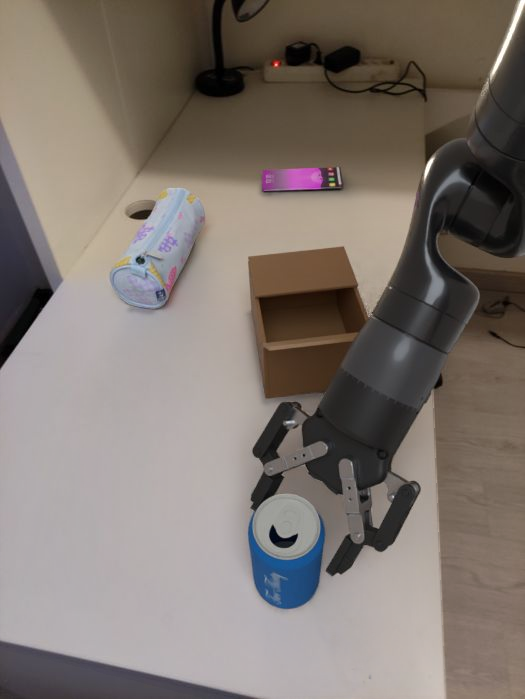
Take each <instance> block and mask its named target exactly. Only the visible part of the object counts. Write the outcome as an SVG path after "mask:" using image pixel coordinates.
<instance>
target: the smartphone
mask: <svg viewBox="0 0 525 699" xmlns="http://www.w3.org/2000/svg"><path fill="white" fill-rule="evenodd" d="M341 168H342V167H340V166H333V167H331V166H329V167H309V168H307V167H306V168H284V169H262V174H261V175H262V176H261V177H262V178H261V179H262V180H261V190H262V192H265V193H266V192H289V191H315V190H318V191H319V190H341V189H343V188H344V182H343V175H342V169H341Z"/></svg>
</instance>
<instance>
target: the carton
mask: <svg viewBox="0 0 525 699" xmlns="http://www.w3.org/2000/svg"><path fill="white" fill-rule="evenodd" d="M247 259H248V261H247V267H248V268H247V269H248V280H249V298H250V309H251V310H250V311H251V319H252V324H253V325H252V326H253V331H254V336H255V344H256V348H257V354H258V355H257V356H258V361H259V367H260V374H261V380H262V385H263V391H264V397H265V399H266V400H267V399H276V398H285V397H293V396H300V395H307V394H308V395H309V394H317V393H325V392H326V390H327V388H328V387H329V385H330V383H331V381H332V379H333V377H334V375H335V374H336V372H337V370H338V368H339V366H340V364H341V363H342V361H343V359H344V357H345V355H346V353H347V351H348V350H349V348H350V346H351V344H352V342H353V341H350V342H341V343H333V344H324V345H316V346H307V347H299V348H290V349H282V350H273V351H269V350H268V349H266V348H265V347H264V345H263V343H269V342H278V341H286V340H295V339H304V338H312V337H321V336H330V335H338V334H347V333H355V332H359V331H360V330H361V329H362V327H363V326H364V325H365V323H366V322H367V320H368V319H369V315H368V312H367V310H366V307H365V304H364V302H363V299H362V296H361V293H360V291H359V288H358V287H359V283H358V280H357V277H356V275H355V272H354V270H353V267H352V264H351V262H350V258H349V256H348V253H347V251H346V248H345V246H336V247H334V246H333V247H326V248H316V249H315V248H314V249H306V250H295V251H288V252H278V253H268V254H260V255H250V256H248V257H247Z"/></svg>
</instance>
